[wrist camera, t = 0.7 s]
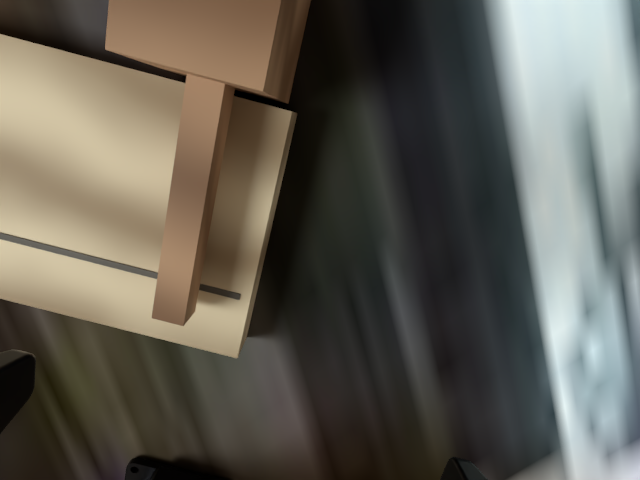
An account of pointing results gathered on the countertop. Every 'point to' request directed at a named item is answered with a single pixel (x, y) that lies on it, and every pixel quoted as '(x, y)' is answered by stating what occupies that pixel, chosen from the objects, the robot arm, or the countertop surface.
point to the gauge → (205, 106)
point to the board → (124, 195)
